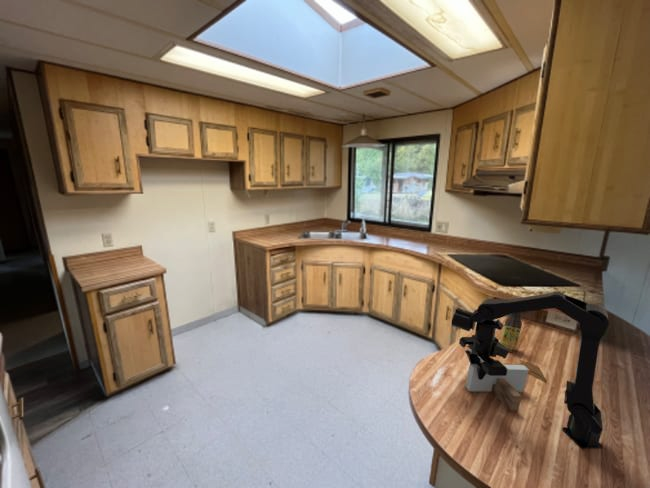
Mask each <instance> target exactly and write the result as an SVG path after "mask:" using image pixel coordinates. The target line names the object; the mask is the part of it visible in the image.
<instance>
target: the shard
mask: <svg viewBox="0 0 650 488" xmlns="http://www.w3.org/2000/svg"><path fill="white" fill-rule="evenodd" d="M518 365H524V366H525V367H526V368H528V369H529V372H528V374H530V375H531V376H533V377H535V378H536V379H538V380H540V381H542V382H545V383H546V382H548V379H547V378H546V377H545V375H544V373H543V371H542V370H541V369H540V367H539V366H538V364H536V363H534V362H531V361H528V360H522V359H518Z"/></svg>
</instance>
